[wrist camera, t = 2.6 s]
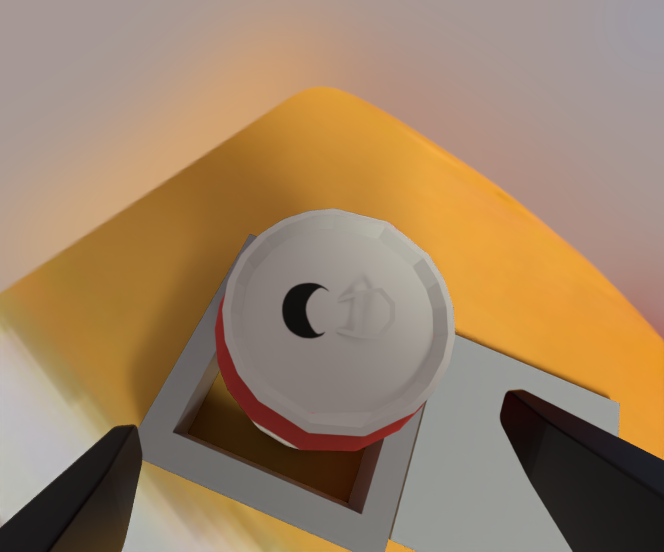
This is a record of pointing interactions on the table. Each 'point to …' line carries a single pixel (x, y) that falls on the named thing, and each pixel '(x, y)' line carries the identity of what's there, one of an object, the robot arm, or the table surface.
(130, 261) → the table surface
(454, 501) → the mat
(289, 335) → the soda can
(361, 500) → the collar
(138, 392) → the table surface
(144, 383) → the table surface
